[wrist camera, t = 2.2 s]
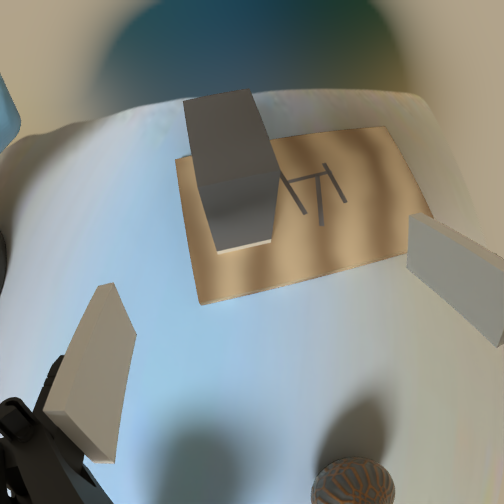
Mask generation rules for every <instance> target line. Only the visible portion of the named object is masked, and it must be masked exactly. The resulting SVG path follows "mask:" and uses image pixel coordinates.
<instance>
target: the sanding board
mask: <svg viewBox="0 0 504 504" xmlns="http://www.w3.org/2000/svg"><path fill="white" fill-rule="evenodd" d="M270 143H271V145H272V148H273V151H274V153H275V156H276V159H277V161H278V164H279V167H280V170H281V171H280V179H279V187H278V194H277V202H276V209H275V217H274V224H273V231H272V239H271V243H266V244H262V245H258V246H253V247H249V248H245V249H240V250H236V251H232V252H227V253H223V254H217V251H216V247H215V244H214V241H213V238H212V234H211V231H210V228H209V225H208V221H207V218H206V215H205V211H204V208H203V205H202V201H201V198H200V194H199V191H198V188H197V182H196V177H195V171H194V166H193V160H192V156H188V157H183V158H179V159H175V163H176V170H177V177H178V184H179V191H180V198H181V204H182V211H183V217H184V223H185V229H186V235H187V241H188V247H189V252H190V258H191V263H192V269H193V274H194V279H195V284H196V289H197V295H198V299H199V303H200V304H201V306H202V305H206V304H211V303H215V302H220V301H224V300H228V299H233V298H237V297H241V296H245V295H250V294H254V293H258V292H262V291H266V290H270V289H275V288H279V287H283V286H287V285H291V284H295V283H299V282H302V281H306V280H310V279H314V278H318V277H322V276H326V275H329V274H333V273H337V272H341V271H344V270H348V269H352V268H355V267H359V266H363V265H366V264H370V263H373V262H377V261H380V260H384V259H387V258H391V257H394V256H398V255H401V254H405V253H407V252H408V228H409V215H412V214H416V213H423V214H425V215H427V216H429V217H431V218H433V215H432V213H431V211H430V209H429V207H428V205H427V202H426V200H425V198H424V196H423V194H422V192H421V190H420V188H419V186H418V184H417V182H416V180H415V178H414V176H413V174H412V173H411V171H410V169H409V167H408V165H407V163H406V161H405V160H404V158H403V156H402V154H401V152H400V151H399V149H398V147H397V146H396V144H395V142H394V140H393V139H392V137H391V135H390V134H389V132H388V130H387V129H386V127H385V126H383V127H370V128H358V129H347V130H338V131H329V132H320V133H313V134H305V135H298V136H291V137H285V138H278V139H272V140H270ZM433 219H434V218H433Z"/></svg>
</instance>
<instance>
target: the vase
mask: <svg viewBox="0 0 504 504" xmlns="http://www.w3.org/2000/svg"><path fill="white" fill-rule="evenodd" d="M394 498H395V486H394V482H393V480H392V478H391V476H390V474H389V473H388V471H387V470H386V469H385V468H384V467H383V466H381V465H380V464H378V463H377V462H375V461H373V460H370V459H367V458H362V457H348V458H344V459H340V460H338V461H335V462H333V463H331V464H330V465H328V466H327V467H326V468H324V469H323V470H322V471H321V472H320V474H319V475H318V476H317V478H316V479H315V481H314V484H313V486H312V490H311V503H312V504H393V502H394Z"/></svg>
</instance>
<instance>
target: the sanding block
mask: <svg viewBox="0 0 504 504" xmlns="http://www.w3.org/2000/svg"><path fill="white" fill-rule="evenodd" d="M183 106H184V112H185V118H186V125H187V131H188V137H189V143H190V149H191V154H192V160H193V166H194V171H195V177H196V182H197V188H198V191H199V194H200V198H201V201H202V205H203V208H204V211H205V215H206V218H207V221H208V225H209V228H210V231H211V234H212V238H213V241H214V244H215V247H216V251H217V254H223V253H227V252H232V251H236V250H240V249H245V248H249V247H253V246H258V245H262V244H266V243H271V239H272V231H273V224H274V217H275V209H276V202H277V194H278V187H279V179H280V171H281V170H280V167H279V164H278V161H277V159H276V156H275V153H274V151H273V148H272V145H271V143H270V140H269V137H268V135H267V132H266V129H265V127H264V124H263V122H262V119H261V116H260V114H259V111H258V109H257V106H256V104H255V101H254V99H253V96H252V94H251V92H250V89H242V90H236V91H231V92H225V93H219V94H214V95H209V96H204V97H199V98H195V99H190V100H186V101H183Z"/></svg>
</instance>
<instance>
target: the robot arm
mask: <svg viewBox="0 0 504 504" xmlns="http://www.w3.org/2000/svg"><path fill="white" fill-rule="evenodd" d="M20 126H21V119H20V115H19V113H18V111H17V109H16V106H15V104H14V102H13V100H12V98H11V96H10V94H9V91H8V89H7V87H6V85H5V83H4V80H3V78H2V76H1V74H0V153H1V152H2V151H3V150H4V149H5V148H6V147H7V146H8V145H9V143H10V142H11V141H12V140H13V139H14V138H15V137H16V136H17V134H18V132H19V130H20ZM406 268H407V269H408V270H409V271H411V272H412V273H413V274H414V275H416V276H417V277H418V278H419V279H420V280H422V281H423V282H424V283H425V284H426V285H428V286H429V287H430V288H431V289H432V290H433V291H435V292H436V293H437V294H438V295H439V296H440V297H442V298H443V299H444V300H445V301H446V302H447V303H448V304H450V305H451V306H452V307H453V308H454V309H455V310H456V311H457V312H459V313H460V314H461V315H462V316H463V317H464V318H465V319H466V320H467V321H468V322H470V323H471V324H472V325H473V326H474V327H475V328H476V329H477V330H478V331H479V332H480V333H481V334H482V335H483V336H485V337H486V338H487V339H488V340H489V341H490V342H491V343H492V344H493V345H494V346H495V347H496V348H497V347H499V346H500V345H502V344H503V343H504V259H503V258H501V257H500V256H498V255H497V254H495V253H493V252H491V251H490V250H488V249H486V248H485V247H483V246H481V245H480V244H478V243H476V242H474V241H473V240H471V239H469V238H468V237H466V236H464V235H462V234H460V233H459V232H457V231H455V230H453V229H451V228H450V227H448V226H446V225H444V224H442V223H440V222H438V221H437V220H435V219H433V218H431V217H429V216H427V215H425V214H423V213H416V214H412V215H409V228H408V252H407V267H406ZM5 269H6V247H5V241H4V238H3V235H2V233H1V232H0V292H1V289H2V285H3V281H4V276H5ZM136 335H137V334H136V332H135V330H134V328H133V326H132V323H131V321H130V319H129V317H128V315H127V312H126V310H125V308H124V306H123V303H122V301H121V299H120V296H119V294H118V292H117V289H116V287H115V284H114V282H113V283H109V284H105V285H100V286H98V287H97V289H96V291H95V293H94V295H93V297H92V299H91V300H90V302H89V304H88V306H87V308H86V310H85V312H84V314H83V317H82V319H81V321H80V323H79V325H78V327H77V329H76V331H75V333H74V335H73V338H72V340H71V342H70V344H69V346H68V349H67V351H66V353H65V355H60V356H59V358H58V359H57V360H56V361H55V362H54V363H53V365H52V366H51V368H50V371H49V373H48V375H47V377H48V378H46V380H45V382H44V387H42V390H41V392H40V395H39V397H38V400H37V402H36V405H35V407H34V410H33V413H32V412H31V411H30V409H29V408H28V407H27V406H26V405H25V404H24V402H23V401H22V400H21V399H20V398H17V397H12V398H8V399H6V400H4V401H3V402H2V403H1V404H0V433H1V434H2V435H3V436H4V438H0V504H114V503H113V502H112V501H111V500H110V498H109V497H108V496H107V494H106V493H105V492H104V490H103V489H102V488H101V486H100V485H99V483H98V482H97V481H96V479H95V478H94V476H93V475H92V473H91V472H90V470H89V469H88V468H87V467H86V466H85V465H84V464H83V459H84V454H85V455H86V456H87V457H88V458H89V459H90V460H91V461H92V462H94V463H109V464H115V457H116V448H117V441H118V433H119V427H120V420H121V413H122V407H123V401H124V395H125V390H126V384H127V379H128V374H129V369H130V364H131V359H132V354H133V349H134V345H135V340H136ZM7 488H8V489H9V490H11V497H9V496H8V493H7Z"/></svg>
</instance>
